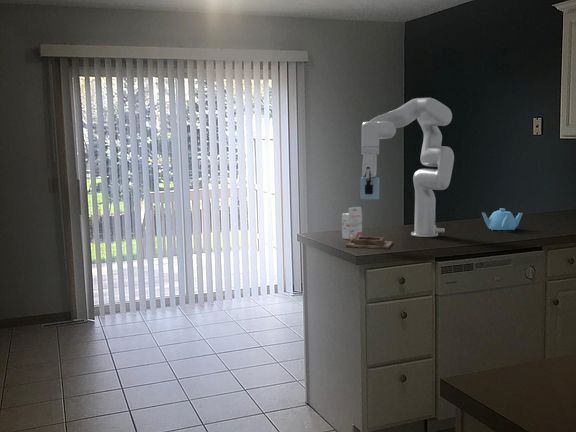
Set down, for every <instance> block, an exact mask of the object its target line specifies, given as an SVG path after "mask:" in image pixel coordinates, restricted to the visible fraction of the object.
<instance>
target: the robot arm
mask: <svg viewBox="0 0 576 432" xmlns="http://www.w3.org/2000/svg"><path fill="white" fill-rule="evenodd" d="M452 119H453V113H452V110H451V109H450V108H449V107H448V106H446V105H445V104H444V103H442V102H440V101H439V100H437V99H435V98H432V97H416V98H412V99H411V100H409V101H407V102H406V103H404V104H402V105H401V106H399V107H398V108H396V109H393V110H391V111H388V112H385V113H383V114H379V115H377V116H375V117H374V118H372V119H370V120H369V121H364V122H362V124H361V149H360V150H361V154H360V155H363V156H362V165H361V167H362V169H361V170H362V171H361V178H362V177H363V178H364V177H366V180H365V194H373V185H372V178H373V177H377V162H378V161H377V155H379V154H380V140H386V139H392V138H393V137H394V136H395V135H396V134H397V133H396V132H397V129H399V128H404V127H406V126H408V125H409V124H411V123H412V122H413V121H415V120H417V122H418V124H419V126H420V128H421V130H422V133H423V142H422V146H421V152H420V160H419V161H420V163H421V164H422V165H423V166H425V167H436V168H419V169H417V170H416V171H415V172H414V174H413V177H412V180H413V181H412V182H413V187H414V231H411V232H410V235H411V236H413V237H418V238H419V237H420V238H434V237H438V236H439V233H445V228H444V227H442V228H441V227H437V225H436V202H437V201H436V196H435V195H436V194H435V192H434V191H433V190H436V191H444V190H447V188H449V185H450V183H451V179H452V173H453V168H454V162H455V154H454V151H453V150H452V148H451V147H450V146H447V145H446V146H443V145H442V143H443V142H442V141H443V135H442V132H441V130H440V128H439V127H440V126H442V127H445V126H448V125H449V124H451V122H452Z"/></svg>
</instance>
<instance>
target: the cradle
mask: <svg viewBox="0 0 576 432" xmlns="http://www.w3.org/2000/svg"><path fill="white" fill-rule="evenodd" d="M392 245H393V241H391V240H385V237H382V236H363V235H362V236H358V237H357V238H355V239H354V235H351V236H350V239H349V242H348V243H346V244H345V248H354V247H358V248H361V249H377V250H378V249H382V250H388V249H390V248H391V246H392Z"/></svg>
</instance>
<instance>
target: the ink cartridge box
mask: <svg viewBox="0 0 576 432" xmlns="http://www.w3.org/2000/svg"><path fill="white" fill-rule="evenodd" d="M347 210H348V212H345V213H341V239H345V240H350V236H351V235H354V240H355V239H356V238H357V237H358V236H362V237H363V212H362V211H363V210H362V206H353V207H348V209H347Z"/></svg>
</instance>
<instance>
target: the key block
mask: <svg viewBox="0 0 576 432" xmlns="http://www.w3.org/2000/svg"><path fill="white" fill-rule="evenodd" d="M365 180H366V177H364V178H363V177H362V176H361V177H360V181H359V182H360V183H359V185H360V188H359V189H360V190H359V191H360V192H359V198H360V199H359V200H379V199H380V177H379V176H378V177H377V176H375V177H373V178H372V185H373V194H365Z"/></svg>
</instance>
